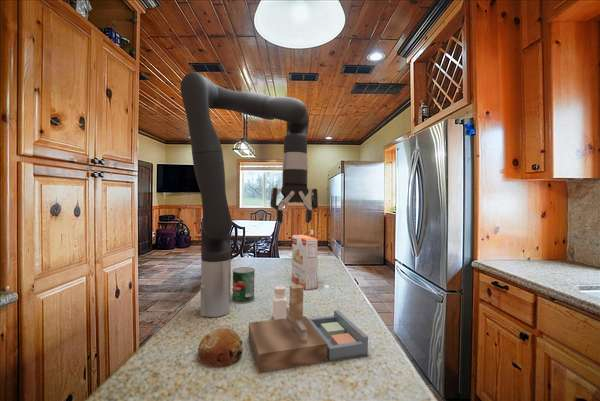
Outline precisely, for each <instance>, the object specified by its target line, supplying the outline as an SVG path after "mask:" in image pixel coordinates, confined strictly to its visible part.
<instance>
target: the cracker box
mask: <svg viewBox="0 0 600 401" xmlns="http://www.w3.org/2000/svg"><path fill="white" fill-rule="evenodd" d="M291 237H292V238H291V241H292V242H291V243H292V244H291V250H292V251H291V281H292V282H293V283H294V284H295V285H299V284H300V285H301V286H302V287H303V291H308V290H314V289H318V249H319V248H318V247H319V246H318V244H319V243H318V240H319V239H318V238H315V237H312V236H309V235H306V234H292V236H291Z"/></svg>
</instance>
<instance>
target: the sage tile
mask: <svg viewBox="0 0 600 401" xmlns="http://www.w3.org/2000/svg"><path fill="white" fill-rule="evenodd" d="M321 331H322V332H323V333H324V334H325V335H326V337H327V338H330V337H331V335H337V334H344V333H345V329H344V328H343V327H342V326H341V325H340V324H339V323H338V322H332V323H324V324H321Z"/></svg>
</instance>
